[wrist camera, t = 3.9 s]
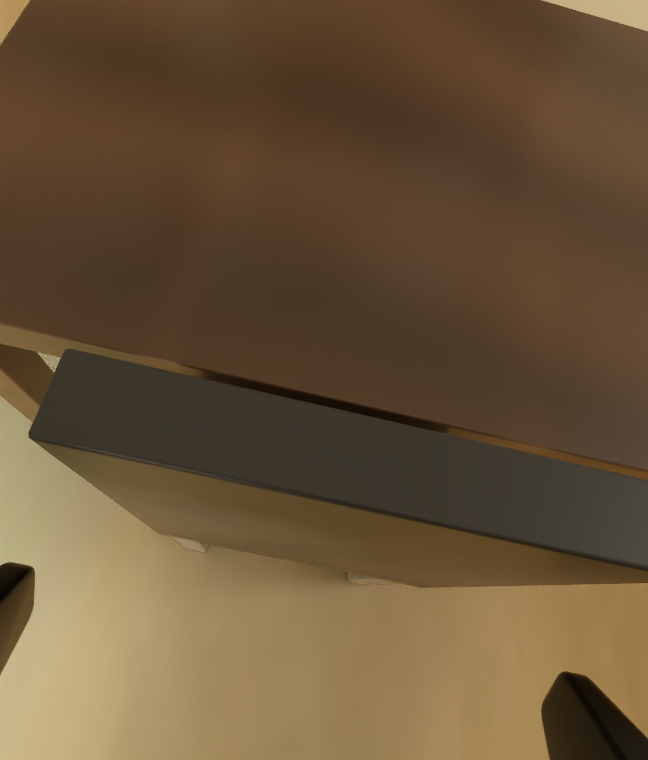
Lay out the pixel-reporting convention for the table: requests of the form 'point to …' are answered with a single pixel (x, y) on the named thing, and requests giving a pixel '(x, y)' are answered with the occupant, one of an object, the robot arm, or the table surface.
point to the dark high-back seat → (337, 484)
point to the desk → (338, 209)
